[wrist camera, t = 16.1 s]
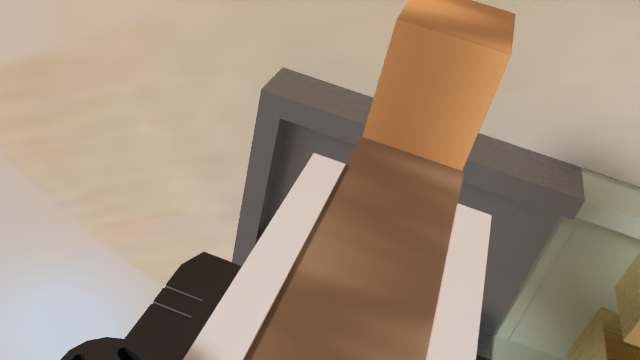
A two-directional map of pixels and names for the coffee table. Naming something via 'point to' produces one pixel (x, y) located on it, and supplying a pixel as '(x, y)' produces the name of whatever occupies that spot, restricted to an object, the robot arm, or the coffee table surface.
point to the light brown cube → (630, 302)
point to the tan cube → (603, 340)
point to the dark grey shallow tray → (476, 190)
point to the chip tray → (573, 274)
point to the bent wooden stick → (394, 195)
